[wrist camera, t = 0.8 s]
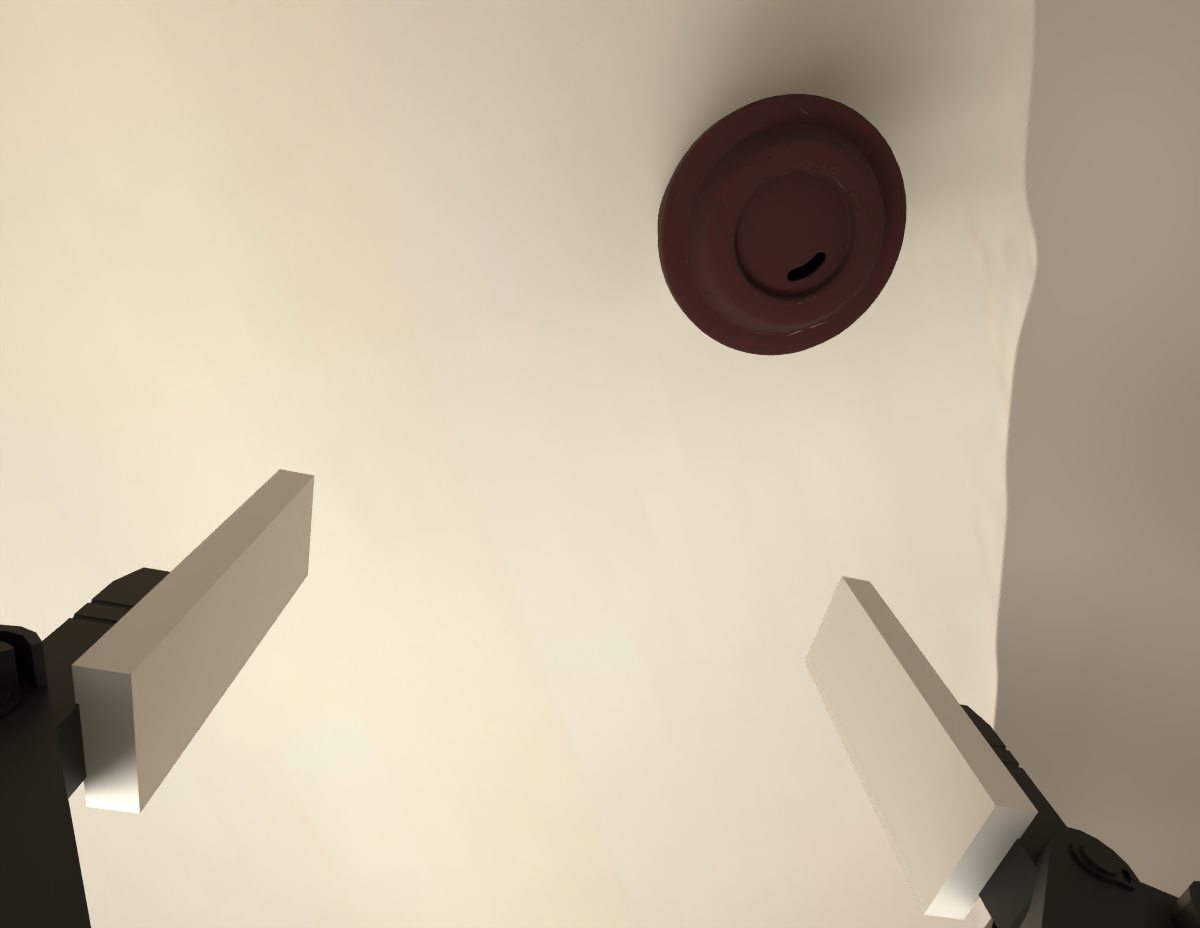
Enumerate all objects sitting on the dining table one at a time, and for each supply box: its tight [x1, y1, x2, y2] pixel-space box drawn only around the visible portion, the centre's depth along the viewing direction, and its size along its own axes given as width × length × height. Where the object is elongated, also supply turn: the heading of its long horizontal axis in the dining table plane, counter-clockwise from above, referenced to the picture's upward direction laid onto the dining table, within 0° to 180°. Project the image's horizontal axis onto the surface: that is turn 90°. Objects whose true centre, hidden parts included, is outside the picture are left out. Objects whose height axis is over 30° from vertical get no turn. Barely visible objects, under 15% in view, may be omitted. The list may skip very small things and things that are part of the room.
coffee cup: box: [658, 94, 906, 355], centre depth 31 cm, size 10×10×15 cm
